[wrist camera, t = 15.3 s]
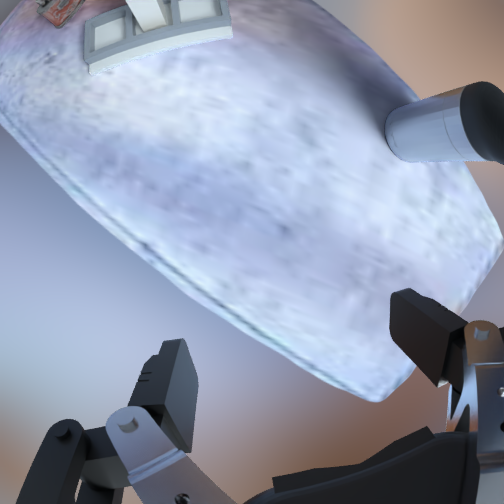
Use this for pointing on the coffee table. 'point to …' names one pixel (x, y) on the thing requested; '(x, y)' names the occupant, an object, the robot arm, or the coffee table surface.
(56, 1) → the lighter
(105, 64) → the rack
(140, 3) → the clay bar
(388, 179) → the coffee table surface
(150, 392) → the robot arm
